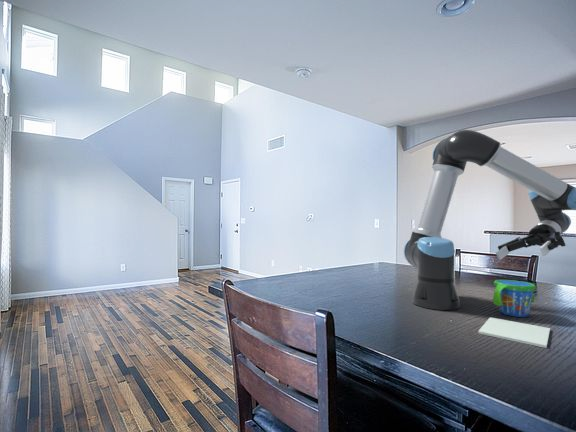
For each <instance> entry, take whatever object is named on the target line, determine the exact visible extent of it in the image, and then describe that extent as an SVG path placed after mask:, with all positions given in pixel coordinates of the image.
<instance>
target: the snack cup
mask: <svg viewBox="0 0 576 432" xmlns="http://www.w3.org/2000/svg"><path fill="white" fill-rule="evenodd" d="M493 285H494V287H495V289H494V293H493V298H492V302H493V305H495V306H498V308H499V311H500V312H501V313H502V314H503V315H505V316H510V317H518V318H525V317H529V316H530V315H529V314H530V310H531V305H532V303H534V302H535V299H536V298H535V294H534V291H535V290H536V288H537V287H536V285H535V283H532V282H527V281H521V280H520V281H519V280H515V279H512V280H511V279H495V280H494V281H493Z"/></svg>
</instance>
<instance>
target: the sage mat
mask: <svg viewBox="0 0 576 432" xmlns="http://www.w3.org/2000/svg"><path fill="white" fill-rule="evenodd" d="M550 332H551V328H550V327H546V326H540V325H535V324H530V323H523V322H518V321H511V320H506V319H502V318H496V317H489V318H488V319H487V320H486V321H485V322H484V324H483V325H482V326H481V327H480V328H479V329H478V331H477V333H478V334H479V335H484V336H489V337H494V338H498V339H502V340H508V341H511V342H516V343H521V344H525V345H531V346H535V347H540V348H544V349H547V348H548V342H549V338H550Z"/></svg>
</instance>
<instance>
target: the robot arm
mask: <svg viewBox="0 0 576 432" xmlns="http://www.w3.org/2000/svg"><path fill="white" fill-rule="evenodd" d="M432 161H433V163H432V165H431V168H432V169H433V171H434V174H433V176H432V179H431V182H430V187H429V189H428V193H427V196H426V200H425V203H424V207H423V209H422V212H421V216H420V220H419V223H418V226H417V228H416V229H414V230H412V232H411V236H410V239H409V240H408V241H407V242H406V243H405V245H404V247H403V255H404V256H403V257H404V258H405V260H406V261H407V263H408V264H410V265H411V266H412V267H414V268H416V269H417V283H416V286H415V289H414V291H413V294H412V303H413V304H414V305H416V306H418V307H421V308H425V309H430V310H439V311H452V310H453V311H454V310H458V309H460V307H461V304H460V303H461V301H460V298H459V295H458V291H457V290H456V286H455V252H456V249H455V245H454V242H453V241H452V240H450V239H447V238H443V237H442V235H441V232H442V230H443V227H444V224H445V220H446V217H447V213H448V211H449V210H448V209H449V207H450V203H451V201H452V197H453V194H454V192H455V191H454V190H455V187H456V184H457V180H458V177H459V176H460V175H463V174H464V173H465V169H466V166H467V164H468V163H467V162H469V163H473V164H476V165H478V166H479V167H484V166H486V167H488V168H490V169H491V170H493V171H495V172H497V173H499V175H502V176H504V177H506V178H508V179H509V180H512V181H514V182H515V183H517V184H518V185H520V186H522V187H524V188H526V189H527V190H529V191H528V195H529V199H530V202H531V204H532V206H533V207H532V208H534V210H535V213H536V216H537V218H538V221H539V222H538V224H536V225H534V226H533V227H532V228H531V229H530V230H529V232H528V235H527V236H524V237H522V238H521V237H520V236H518V237H515V238H514V239H512V240H510V241H508V242H505V243H502V244H500V245H498V246H497V248H498V250H497V251H496V252H495V255H496V257H497V260H498V261H501V260H503V258H505V257H507V255H509V254H510V252H514V251H515V250H519V249H522V248H529V247H534V246H539V250H540V252H541V255H542V257H546V256H548V254H549V253H550V252H551V251H553V250H554V249H557V248H559V246H560V247H566V246H567V245H566V242H565V240H564V238H563V237H562V236H563V235H562V234H563V233H565V232H566V231H567V230H568V229H569V228H570V226H571V223H572V220H571V219H572V218H571V217H570V216H569V215H568V214H566V213H564V212H563V211H576V186H574V185H571V184H569V183H567V182H566V181H564V180H562V179H560V178H558V177H557V176H555V175H552V174H551V173H550V172H547V171H545V170H544V169H542V168H540V167H539V166H538V165H537V166H536V165H535V164H533V163H532V162H529V161H527V160H526V159H523V158H522V157H520V156H518V155H516V154H514V153H513V152H511V151H509V150H507V149H505V148H503V147H502V145H501V142H500V141H498V140H496V139H494V138H492V137H491V136H488V135H486V134H484V133H482V132H479V131H476V130H470V129H462V130H458V131H456V132H454V133H452V134H451V135H449V136H448V137H446V138H443V139H442V140H439V142H438V143H437V144H436V145H435V147H434V148H433V150H432Z"/></svg>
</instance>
